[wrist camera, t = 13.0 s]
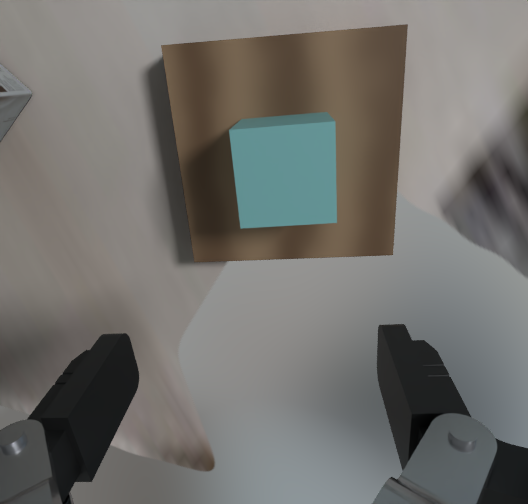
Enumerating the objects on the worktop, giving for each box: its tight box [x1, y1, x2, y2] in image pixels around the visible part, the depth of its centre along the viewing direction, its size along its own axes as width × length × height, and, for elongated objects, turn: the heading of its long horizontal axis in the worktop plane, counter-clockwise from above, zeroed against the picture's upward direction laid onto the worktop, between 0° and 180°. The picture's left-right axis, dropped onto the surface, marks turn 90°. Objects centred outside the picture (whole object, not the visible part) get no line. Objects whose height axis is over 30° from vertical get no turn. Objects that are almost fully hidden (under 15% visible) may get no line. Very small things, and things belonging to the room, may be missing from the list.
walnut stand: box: [161, 25, 408, 262], centre depth 31 cm, size 16×16×3 cm
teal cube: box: [229, 112, 337, 229], centre depth 27 cm, size 6×6×6 cm
